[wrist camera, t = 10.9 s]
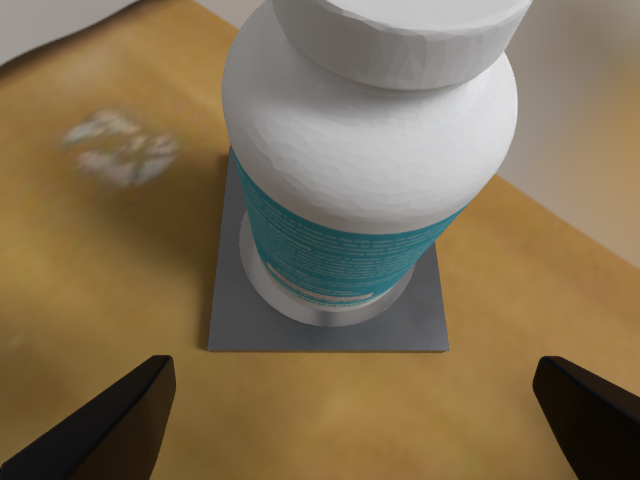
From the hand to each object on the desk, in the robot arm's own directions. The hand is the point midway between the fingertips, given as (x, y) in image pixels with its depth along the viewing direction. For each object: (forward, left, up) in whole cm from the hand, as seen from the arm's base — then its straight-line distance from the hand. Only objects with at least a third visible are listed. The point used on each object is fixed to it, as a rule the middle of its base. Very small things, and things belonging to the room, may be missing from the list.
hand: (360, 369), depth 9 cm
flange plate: (+7, 0, -9) cm, 11 cm away
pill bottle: (+7, 0, -8) cm, 10 cm away
